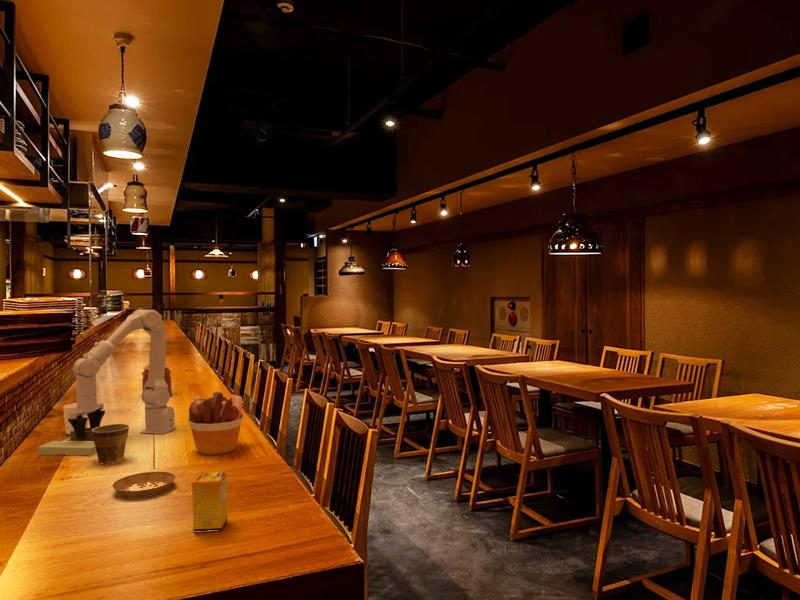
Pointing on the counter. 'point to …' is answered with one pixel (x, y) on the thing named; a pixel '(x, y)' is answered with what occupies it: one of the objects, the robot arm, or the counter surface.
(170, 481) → the plant saucer
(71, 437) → the chute
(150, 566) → the counter surface
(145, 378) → the canister
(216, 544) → the counter surface
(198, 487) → the supplement box
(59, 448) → the tan bracket
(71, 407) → the white cup
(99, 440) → the ceramic cup
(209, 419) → the bucket of meat
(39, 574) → the counter surface
